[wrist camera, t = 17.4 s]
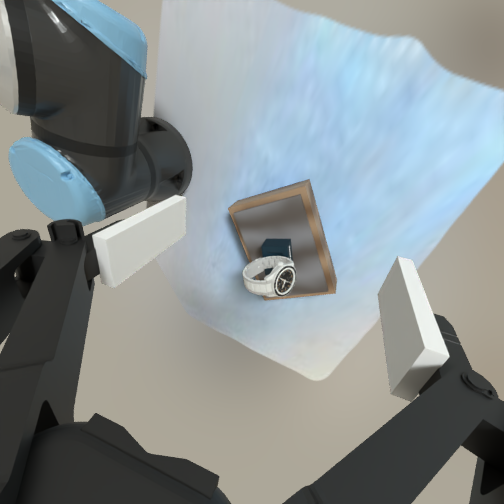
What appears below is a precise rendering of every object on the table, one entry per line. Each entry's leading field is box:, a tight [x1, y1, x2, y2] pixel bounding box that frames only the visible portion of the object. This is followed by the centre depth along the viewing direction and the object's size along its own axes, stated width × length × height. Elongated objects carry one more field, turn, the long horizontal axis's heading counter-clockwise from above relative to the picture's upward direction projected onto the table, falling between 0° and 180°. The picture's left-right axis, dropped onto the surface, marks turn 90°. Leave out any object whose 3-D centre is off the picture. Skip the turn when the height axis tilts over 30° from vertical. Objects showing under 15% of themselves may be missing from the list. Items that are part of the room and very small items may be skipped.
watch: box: [243, 239, 297, 297], centre depth 41 cm, size 6×8×11 cm
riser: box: [228, 179, 337, 300], centre depth 48 cm, size 20×14×5 cm
